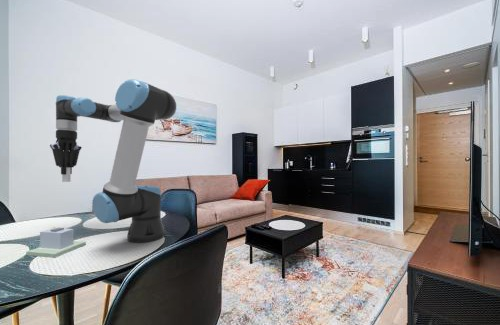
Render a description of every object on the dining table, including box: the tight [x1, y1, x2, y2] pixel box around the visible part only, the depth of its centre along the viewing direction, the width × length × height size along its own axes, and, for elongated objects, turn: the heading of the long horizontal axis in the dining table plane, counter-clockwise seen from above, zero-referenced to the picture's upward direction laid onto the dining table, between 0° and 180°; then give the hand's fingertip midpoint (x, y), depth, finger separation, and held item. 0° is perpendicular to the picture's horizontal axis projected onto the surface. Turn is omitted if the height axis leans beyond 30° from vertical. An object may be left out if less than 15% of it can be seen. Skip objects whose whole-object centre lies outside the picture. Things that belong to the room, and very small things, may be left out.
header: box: [25, 240, 87, 258], centre depth 83 cm, size 12×12×5 cm
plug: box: [39, 227, 75, 250], centre depth 83 cm, size 9×5×7 cm, turn 81°
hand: (66, 181), depth 100 cm, fingers closed
